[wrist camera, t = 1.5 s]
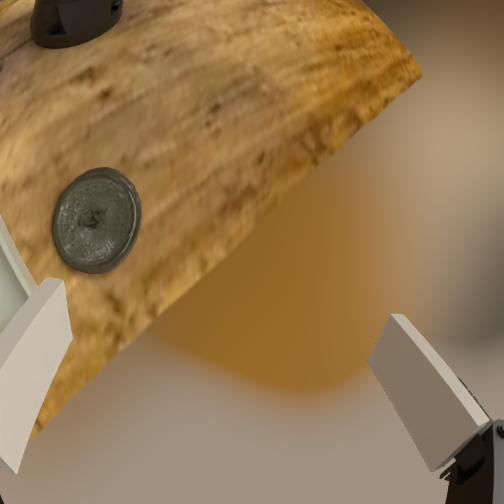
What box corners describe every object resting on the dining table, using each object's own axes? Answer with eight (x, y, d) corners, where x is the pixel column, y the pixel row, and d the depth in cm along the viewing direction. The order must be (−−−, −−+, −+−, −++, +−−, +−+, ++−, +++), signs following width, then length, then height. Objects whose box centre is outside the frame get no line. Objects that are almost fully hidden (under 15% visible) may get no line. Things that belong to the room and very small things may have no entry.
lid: (151, 261, 30) (154, 256, 25) (64, 285, 26) (51, 284, 21) (131, 168, 30) (131, 148, 25) (48, 189, 26) (35, 173, 21)
